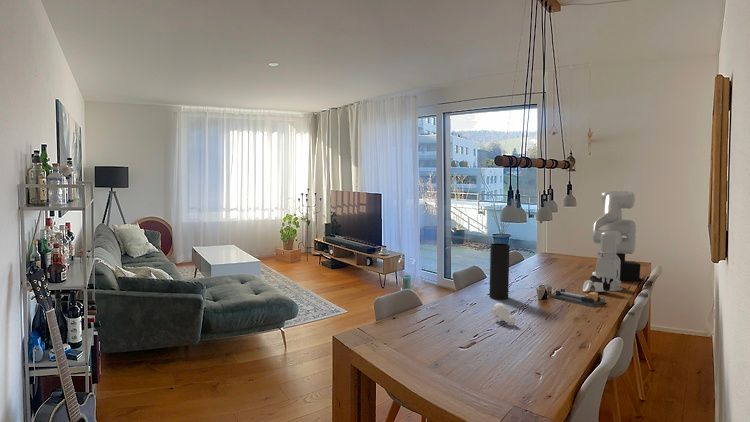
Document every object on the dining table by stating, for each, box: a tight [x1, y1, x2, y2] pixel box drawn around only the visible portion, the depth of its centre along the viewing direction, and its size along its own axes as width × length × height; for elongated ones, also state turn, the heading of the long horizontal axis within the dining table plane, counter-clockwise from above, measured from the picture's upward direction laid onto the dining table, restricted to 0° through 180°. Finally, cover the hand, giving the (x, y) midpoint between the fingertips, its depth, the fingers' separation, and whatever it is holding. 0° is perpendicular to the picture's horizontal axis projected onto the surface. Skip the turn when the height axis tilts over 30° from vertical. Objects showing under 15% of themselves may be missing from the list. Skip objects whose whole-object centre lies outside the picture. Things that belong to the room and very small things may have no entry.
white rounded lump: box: [491, 302, 516, 327], centre depth 211 cm, size 6×8×12 cm
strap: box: [559, 290, 585, 298], centre depth 254 cm, size 4×14×1 cm, turn 38°
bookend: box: [616, 253, 643, 282], centre depth 301 cm, size 23×11×24 cm, turn 81°
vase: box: [488, 242, 511, 301], centre depth 255 cm, size 10×10×30 cm
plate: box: [549, 288, 606, 308], centre depth 251 cm, size 14×24×4 cm, turn 38°
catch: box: [585, 291, 599, 301], centre depth 245 cm, size 5×5×4 cm
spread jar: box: [582, 271, 608, 295], centre depth 267 cm, size 12×11×12 cm
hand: (606, 290), depth 238 cm, fingers closed
